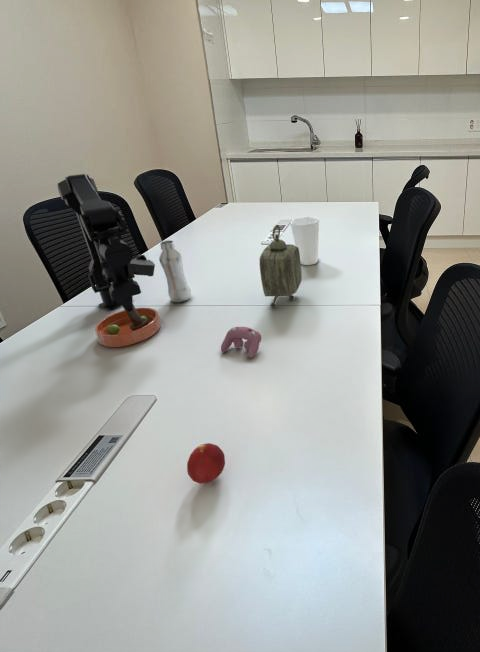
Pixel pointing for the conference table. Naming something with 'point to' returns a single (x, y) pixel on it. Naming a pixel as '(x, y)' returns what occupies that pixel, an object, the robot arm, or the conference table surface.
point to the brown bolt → (136, 319)
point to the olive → (113, 329)
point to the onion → (205, 463)
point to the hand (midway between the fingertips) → (129, 309)
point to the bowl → (127, 328)
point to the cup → (306, 238)
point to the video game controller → (237, 336)
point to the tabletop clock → (280, 269)
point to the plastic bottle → (174, 272)
